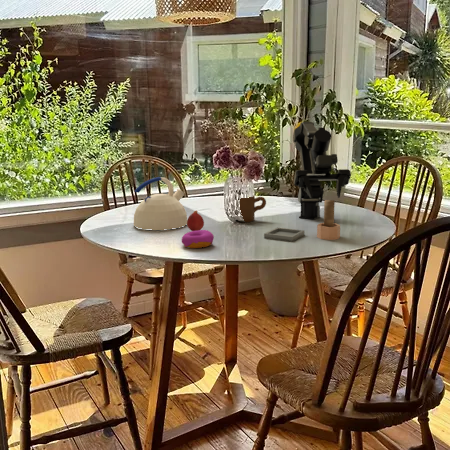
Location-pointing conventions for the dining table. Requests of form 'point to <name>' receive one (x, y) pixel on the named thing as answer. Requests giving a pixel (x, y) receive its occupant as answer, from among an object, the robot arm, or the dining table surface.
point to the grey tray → (284, 234)
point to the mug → (250, 207)
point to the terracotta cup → (328, 231)
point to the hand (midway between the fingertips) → (325, 197)
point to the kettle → (160, 209)
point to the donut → (197, 239)
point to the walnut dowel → (329, 213)
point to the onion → (195, 221)
